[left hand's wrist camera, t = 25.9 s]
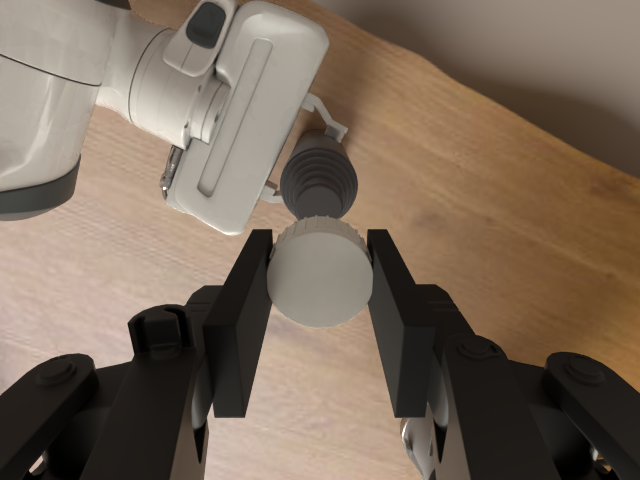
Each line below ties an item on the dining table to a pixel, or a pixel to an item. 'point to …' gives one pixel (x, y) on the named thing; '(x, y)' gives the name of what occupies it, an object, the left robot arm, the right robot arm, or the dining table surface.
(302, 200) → the bottle
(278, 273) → the cap
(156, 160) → the dining table surface
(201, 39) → the right robot arm
